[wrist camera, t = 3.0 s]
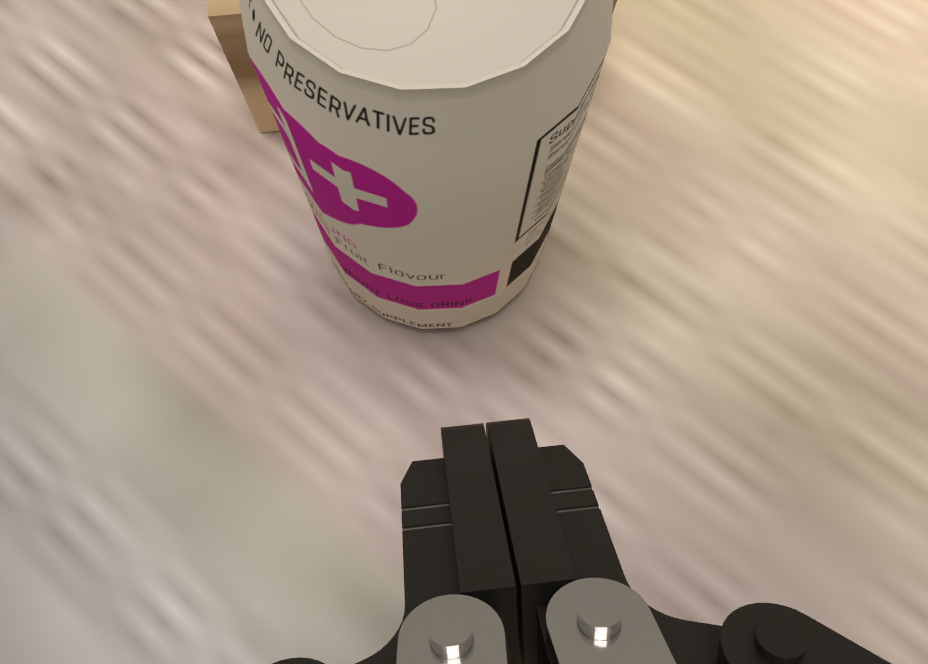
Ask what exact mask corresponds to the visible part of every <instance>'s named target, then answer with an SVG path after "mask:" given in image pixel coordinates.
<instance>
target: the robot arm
mask: <svg viewBox="0 0 928 664" xmlns="http://www.w3.org/2000/svg"><path fill="white" fill-rule="evenodd" d="M441 437H442V448H443V458H440V459H431V460H422V461H413V462H412V463H411V465H410V467H409V469H408V471H407V473H406V475H405V477H404V478H403V480H402V482H401V506H402V529H403V532H402V534H403V561H404V589H405V613H404V617H403V621H402V623H401V625H400V627H399V629H398V631H397V632H396V634H395V636H394V637H393V638H392V639H391V640H390V641H389V643H388V644H387V645H385V646H384V647H383V648H382V649H381V650H380V651H378V652H377V653H375V654H374V655H372V656H370V657H368V658H367V659H365V660H363V661H360V662H358V663H356V664H891V663H889V662H887V661H886V660H884V659H882V658H880V657H879V656H877V655H875V654H873V653H872V652H870V651H868V650H866V649H865V648H863V647H861V646H859V645H858V644H856V643H854V642H852V641H851V640H849V639H847V638H845V637H844V636H842V635H840V634H838V633H837V632H835V631H833V630H831V629H830V628H828V627H826V626H824V625H823V624H821V623H819V622H817V621H816V620H814V619H812V618H810V617H809V616H807V615H805V614H803V613H801V612H799V611H797V610H795V609H792V608H789V607H786V606H783V605H778V604H772V603H754V604H748V605H745V606H743V607H740V608H738V609H736V610H735V611H733V612H732V613H731V614H730V615H729V616H728V617H727V618H726V620H725V621H724V623H723V625H722V626H718V625H712V624H705V623H699V622H693V621H686V620H682V619H677V618H674V617H671V616H668V615H665V614H663V613H661V612H659V611H656V610H655V609H653V608H651V607H650V606H648V605H647V603H646V602H645V601H644V600H643V598H642V597H641V596H640V595H639V594H638V593H636V592H635V591H634V590H633V589H631V588H630V586H629V585H628V583H627V580H626V578H625V576H624V573H623V570H622V568H621V565H620V562H619V559H618V557H617V554H616V551H615V548H614V546H613V543H612V540H611V538H610V535H609V532H608V529H607V527H606V524H605V521H604V518H603V516H602V513H601V510H600V509H599V507H598V502H597V499H596V497H595V494H594V491H593V490H592V486H591V483H590V480H589V478H588V475H587V472H586V469H585V467H584V464H583V462H581V461H580V460H579V459H578V458H577V457H576V456H575V455H574V454H573V453H572V452H571V451H570V450H569V449H568V448H567V447H566V446H564V445H557V446H548V447H538V446H537V442H536V439H535V435H534V432H533V429H532V425H531V422H530V420H529V418H526V419H517V420H508V421H498V422H489V423H486V434H485V429H484V425H483V423H481V424H472V425H463V426H454V427H444V428H441ZM273 664H324V663H322V662H320V661H318V660H314V659H310V658H290V659H285V660H281V661H278V662H275V663H273Z"/></svg>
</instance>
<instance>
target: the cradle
mask: <svg viewBox="0 0 928 664" xmlns="http://www.w3.org/2000/svg"><path fill="white" fill-rule="evenodd" d="M616 1H617V0H613V11H614V8H615V4H616ZM612 14H613V12H612ZM208 17H209V20H210V22H211V24H212V26H213V28H214V31H215V33H216V35H217V37H218V40H219V42H220V44H221V46H222V48H223V51H224V53H225V55H226V57H227V59H228V62H229V64H230V66H231V68H232V71H233V73H234V75H235V77H236V79H237V82H238V84H239V86H240V88H241V90H242V93H243V95H244V97H245V99H246V102H247V104H248V106H249V108H250V110H251V113H252V115H253V117H254V119H255V121H256V124H257V126H258V128H259V130H260V132H261V133H262V132H273V131H280V130H279V128H278V125H277V123H276V120H275V118H274V115H273V113H272V110H271V108H270V105H269V103H268V100H267V98H266V95H265V93H264V90H263V88H262V86H261V83H260V81H259V78H258V76H257V73H256V71H255V68H254V66H253V63H252V61H251V58H250V56H249V53H248V50H247V44H246V38H245V33H244V27H243V22H242V16H241V10H240V5H239V0H208Z"/></svg>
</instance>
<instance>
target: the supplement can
mask: <svg viewBox="0 0 928 664" xmlns="http://www.w3.org/2000/svg"><path fill="white" fill-rule="evenodd" d="M239 5H240V10H241V16H242V22H243V27H244V33H245V38H246V44H247V50H248V53H249V56H250V58H251V61H252V63H253V66H254V68H255V71H256V73H257V76H258V78H259V81H260V83H261V86H262V88H263V90H264V93H265V95H266V98H267V100H268V103H269V105H270V108H271V110H272V113H273V115H274V118H275V120H276V123H277V125H278V128H279V130H280V133H281V135H282V137H283V140H284V142H285V145H286V147H287V150H288V152H289V155H290V157H291V160H292V162H293V165H294V167H295V170H296V172H297V175H298V177H299V180H300V182H301V184H302V187H303V189H304V192H305V194H306V197H307V199H308V202H309V204H310V207H311V209H312V212H313V214H314V217H315V219H316V222H317V224H318V227H319V229H320V231H321V234H322V236H323V239H324V241H325V244H326V246H327V249H328V251H329V254H330V256H331V259H332V261H333V264H334V265H335V267H336V269H337V270H338V272H339V273H340V275H341V276H342V278H343V280H344V281H345V283H346V284H347V286H348V287H349V289H350V290H351V292H352V294H353V295H354V296H355V297H357V298H358V299H359V300H361V301H362V302H363V303H365V304H366V305H367V306H369V307H370V308H371V309H373V310H374V311H375V312H377V313H378V314H380V315H381V316H382V317H384V318H386V319H390V320H393V321H396V322H400V323H403V324H406V325H409V326H413V327H416V328H419V329H434V328H456V327H463V326H465V325H467V324H470V323H472V322H475V321H477V320H480V319H482V318H485V317H487V316H490V315H492V314H495V313H497V312H498V311H499V310H500V309H501V308H502V307H504V306H505V305H506V304H507V303H508V302H509V301H510V300H511V299H512V298H514V297H515V296H516V295H517V294H518V293H519V292H520V291H521V290H523V289H524V287H525V286H526V284H527V282H528V280H529V278H530V276H531V274H532V272H533V270H534V268H535V266H536V264H537V262H538V260H539V258H540V257H541V254H542V251H543V248H544V244H545V241H546V238H547V235H548V232H549V229H550V226H551V223H552V220H553V216H554V213H555V210H556V207H557V204H558V201H559V198H560V195H561V192H562V188H563V185H564V182H565V179H566V176H567V173H568V170H569V167H570V164H571V161H572V157H573V154H574V151H575V148H576V145H577V142H578V139H579V136H580V133H581V129H582V126H583V123H584V120H585V117H586V114H587V111H588V108H589V105H590V101H591V98H592V95H593V92H594V89H595V86H596V83H597V80H598V77H599V73H600V70H601V67H602V64H603V61H604V58H605V55H606V52H607V49H608V45H609V42H610V36H611V24H612V12H613V0H239Z"/></svg>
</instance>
